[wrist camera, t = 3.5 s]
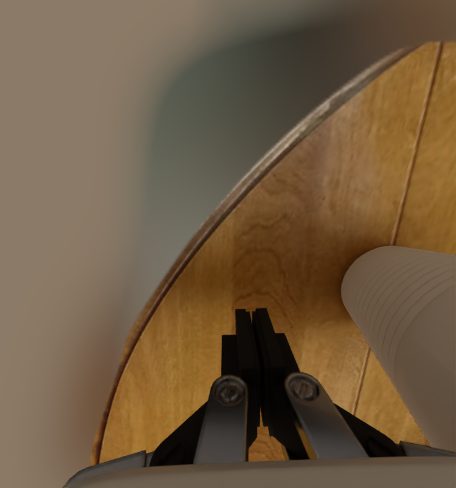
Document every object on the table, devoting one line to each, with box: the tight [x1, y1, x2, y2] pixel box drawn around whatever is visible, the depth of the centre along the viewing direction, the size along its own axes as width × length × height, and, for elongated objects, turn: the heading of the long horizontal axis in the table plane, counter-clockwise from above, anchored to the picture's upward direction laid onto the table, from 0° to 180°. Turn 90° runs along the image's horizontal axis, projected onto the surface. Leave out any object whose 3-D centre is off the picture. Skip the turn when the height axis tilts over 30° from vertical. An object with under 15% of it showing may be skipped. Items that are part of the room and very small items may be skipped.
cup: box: [341, 246, 456, 452], centre depth 11 cm, size 10×10×11 cm
